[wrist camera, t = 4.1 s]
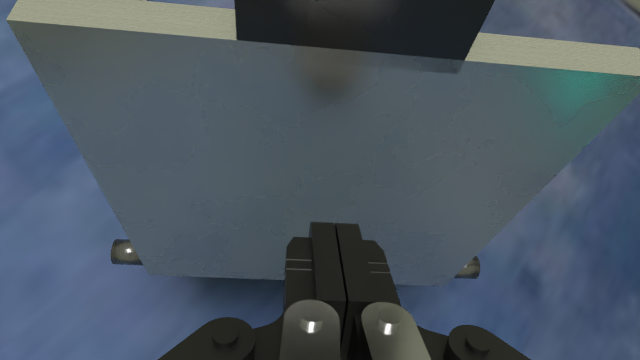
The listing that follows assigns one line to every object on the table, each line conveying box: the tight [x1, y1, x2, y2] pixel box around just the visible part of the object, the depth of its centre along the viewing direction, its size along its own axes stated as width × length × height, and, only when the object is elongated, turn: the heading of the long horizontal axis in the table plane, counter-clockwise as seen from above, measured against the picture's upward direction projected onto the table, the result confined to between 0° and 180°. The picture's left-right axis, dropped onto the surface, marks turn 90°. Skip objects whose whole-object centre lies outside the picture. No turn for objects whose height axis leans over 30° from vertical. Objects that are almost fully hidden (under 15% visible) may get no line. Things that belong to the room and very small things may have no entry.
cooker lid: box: [7, 0, 640, 286], centre depth 18 cm, size 20×17×1 cm
